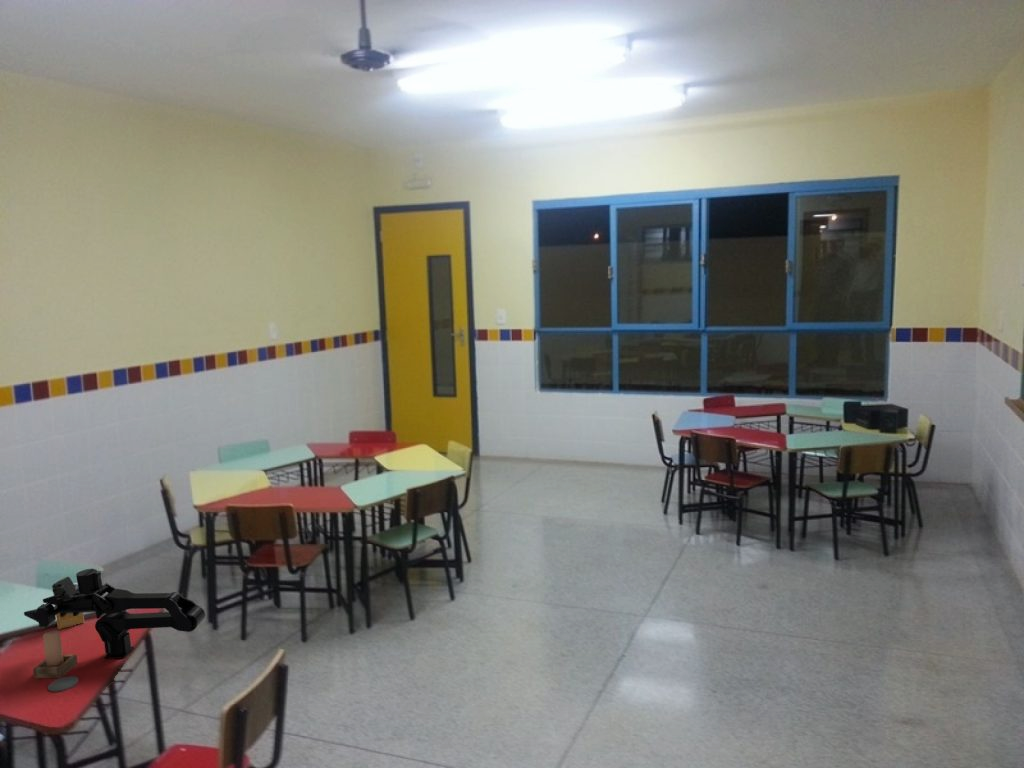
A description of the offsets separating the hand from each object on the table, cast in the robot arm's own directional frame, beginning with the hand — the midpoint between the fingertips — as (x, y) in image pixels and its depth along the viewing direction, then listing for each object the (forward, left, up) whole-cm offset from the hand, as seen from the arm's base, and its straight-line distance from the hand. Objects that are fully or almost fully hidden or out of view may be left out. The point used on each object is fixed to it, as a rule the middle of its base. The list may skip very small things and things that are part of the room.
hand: (33, 607), depth 237 cm
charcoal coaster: (-19, +17, -16) cm, 30 cm away
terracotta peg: (-11, +9, -16) cm, 22 cm away
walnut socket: (-11, +9, -16) cm, 22 cm away
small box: (+5, -23, -17) cm, 29 cm away
